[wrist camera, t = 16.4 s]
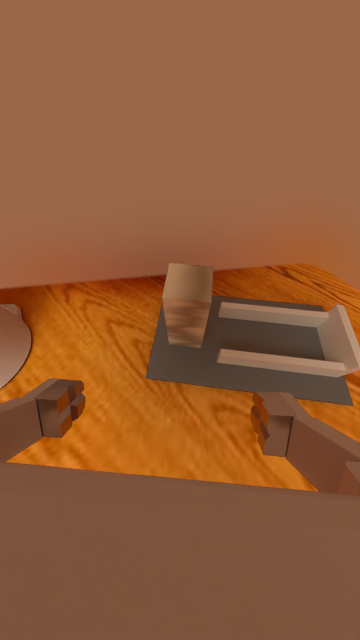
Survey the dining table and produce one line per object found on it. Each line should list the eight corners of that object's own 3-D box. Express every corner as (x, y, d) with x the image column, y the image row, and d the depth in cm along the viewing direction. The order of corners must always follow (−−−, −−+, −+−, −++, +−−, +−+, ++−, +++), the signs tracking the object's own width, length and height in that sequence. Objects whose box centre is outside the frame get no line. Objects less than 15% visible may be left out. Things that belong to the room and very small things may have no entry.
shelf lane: (146, 378, 27) (139, 367, 22) (165, 292, 35) (162, 271, 30) (350, 405, 25) (389, 399, 20) (320, 307, 33) (343, 287, 28)
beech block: (168, 344, 29) (161, 297, 19) (173, 317, 32) (169, 262, 21) (200, 348, 29) (211, 302, 19) (202, 320, 31) (213, 266, 21)
